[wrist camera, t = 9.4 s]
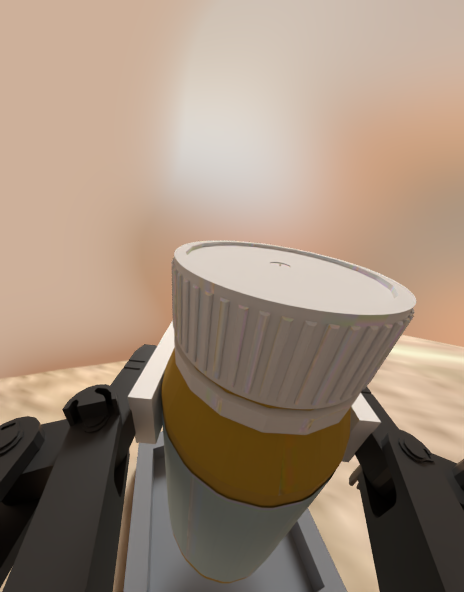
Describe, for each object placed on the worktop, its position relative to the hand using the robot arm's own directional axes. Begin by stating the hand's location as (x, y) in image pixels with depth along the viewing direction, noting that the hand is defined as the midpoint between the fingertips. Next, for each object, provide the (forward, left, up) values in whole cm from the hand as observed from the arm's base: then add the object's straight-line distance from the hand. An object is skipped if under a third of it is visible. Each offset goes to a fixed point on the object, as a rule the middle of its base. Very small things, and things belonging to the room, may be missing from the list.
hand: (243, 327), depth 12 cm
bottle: (+2, +5, -9) cm, 10 cm away
